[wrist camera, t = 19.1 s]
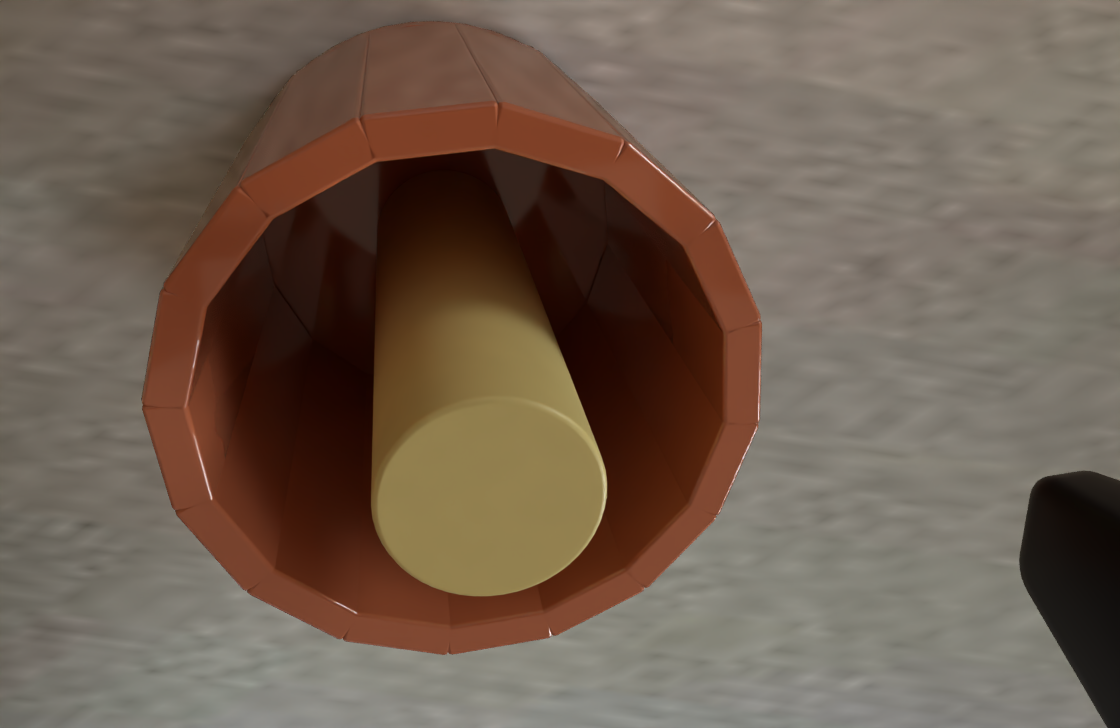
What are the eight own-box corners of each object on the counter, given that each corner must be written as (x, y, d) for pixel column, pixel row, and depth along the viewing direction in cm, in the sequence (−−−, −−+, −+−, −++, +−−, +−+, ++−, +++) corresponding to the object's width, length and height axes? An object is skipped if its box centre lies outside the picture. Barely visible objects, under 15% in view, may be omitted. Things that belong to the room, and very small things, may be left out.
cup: (614, 1, 15) (770, 71, 9) (631, 364, 18) (757, 603, 12) (197, 42, 15) (59, 147, 8) (283, 413, 18) (227, 695, 11)
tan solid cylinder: (503, 161, 16) (601, 382, 9) (515, 287, 17) (613, 578, 10) (366, 177, 15) (352, 417, 8) (388, 304, 16) (390, 615, 9)
